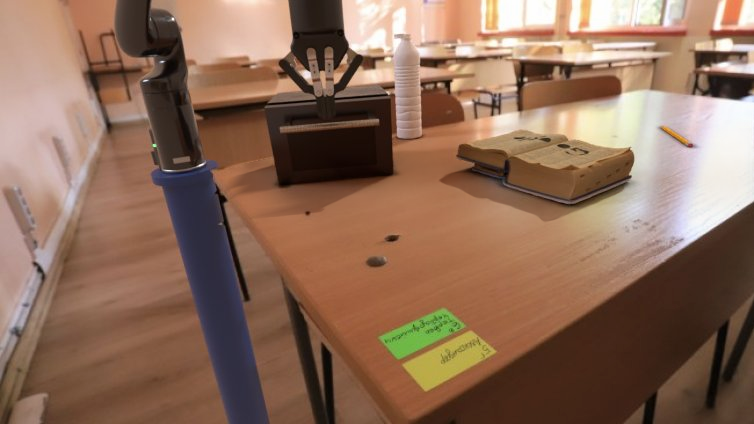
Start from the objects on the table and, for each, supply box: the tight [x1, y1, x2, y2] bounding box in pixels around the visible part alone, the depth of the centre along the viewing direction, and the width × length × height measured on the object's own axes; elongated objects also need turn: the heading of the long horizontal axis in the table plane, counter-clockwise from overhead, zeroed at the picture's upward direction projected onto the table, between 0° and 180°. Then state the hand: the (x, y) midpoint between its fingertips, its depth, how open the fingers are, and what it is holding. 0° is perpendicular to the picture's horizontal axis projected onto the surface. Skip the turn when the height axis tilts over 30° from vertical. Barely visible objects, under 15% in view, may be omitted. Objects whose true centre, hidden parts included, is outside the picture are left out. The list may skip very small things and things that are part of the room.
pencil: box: [661, 125, 694, 148], centre depth 93 cm, size 1×19×1 cm, turn 163°
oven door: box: [263, 95, 394, 186], centre depth 75 cm, size 6×22×15 cm, turn 95°
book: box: [455, 129, 635, 205], centre depth 73 cm, size 25×17×6 cm
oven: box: [266, 84, 389, 106], centre depth 86 cm, size 16×22×15 cm
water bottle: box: [392, 33, 423, 140], centre depth 104 cm, size 9×6×25 cm
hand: (327, 120), depth 65 cm, fingers closed
